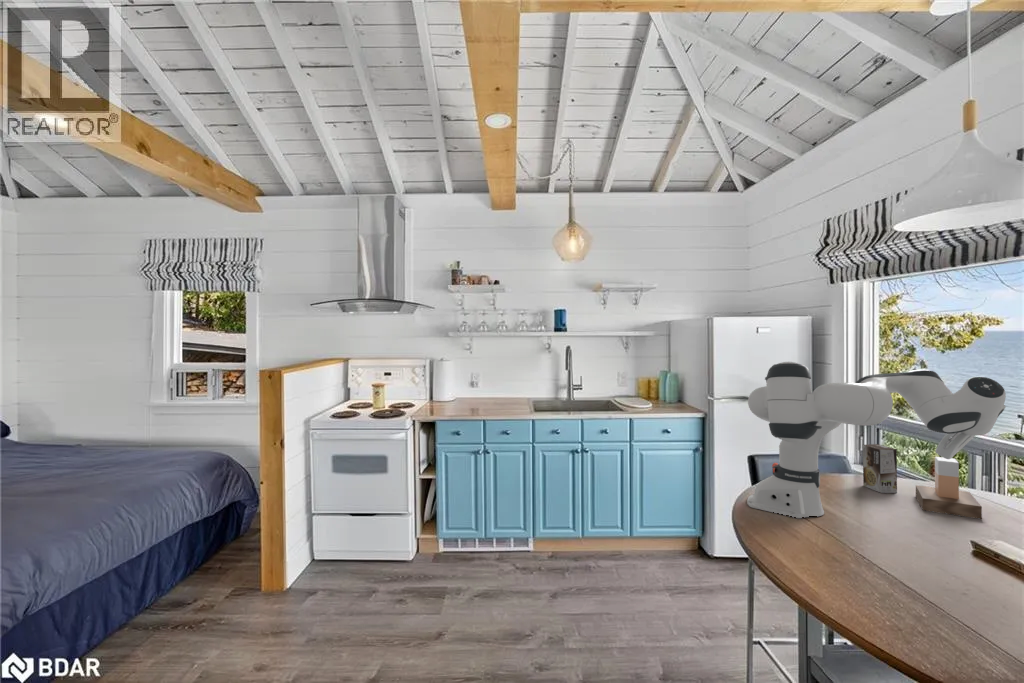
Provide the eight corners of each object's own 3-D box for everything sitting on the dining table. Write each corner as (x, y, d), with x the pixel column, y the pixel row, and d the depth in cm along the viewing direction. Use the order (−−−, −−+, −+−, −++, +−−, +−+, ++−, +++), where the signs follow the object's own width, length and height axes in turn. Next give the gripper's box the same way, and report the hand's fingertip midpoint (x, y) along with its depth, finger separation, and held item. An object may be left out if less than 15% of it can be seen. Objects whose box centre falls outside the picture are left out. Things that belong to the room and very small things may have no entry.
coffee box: (898, 493, 171) (897, 449, 171) (880, 493, 171) (880, 449, 171) (879, 485, 180) (878, 443, 180) (862, 485, 180) (861, 443, 180)
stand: (922, 510, 155) (922, 498, 154) (915, 496, 168) (915, 485, 168) (981, 519, 147) (981, 506, 147) (969, 503, 160) (969, 492, 160)
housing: (938, 496, 156) (938, 460, 156) (935, 491, 161) (935, 456, 161) (958, 499, 153) (958, 462, 153) (954, 493, 158) (954, 458, 158)
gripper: (959, 449, 126) (949, 473, 135) (1010, 402, 128) (997, 428, 137) (933, 435, 131) (925, 458, 140) (982, 389, 133) (971, 415, 142)
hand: (961, 443), depth 139 cm, fingers open, 8 cm apart
